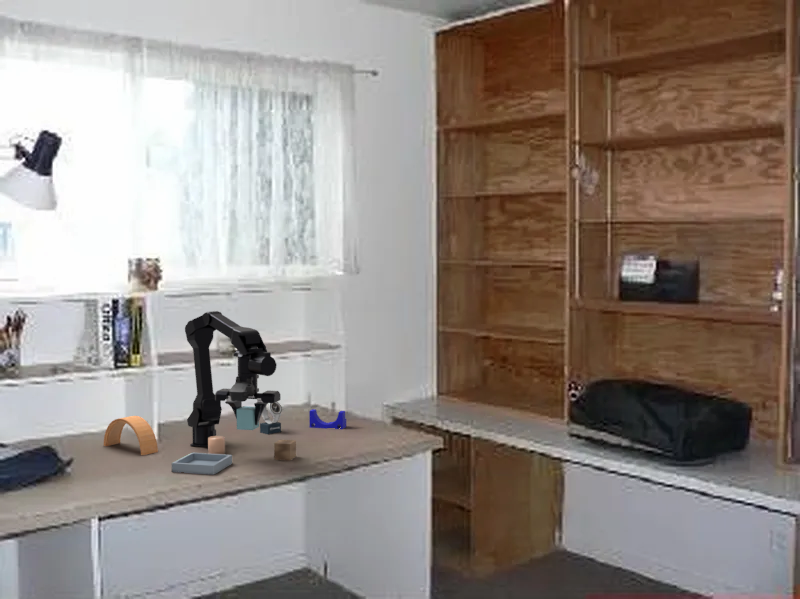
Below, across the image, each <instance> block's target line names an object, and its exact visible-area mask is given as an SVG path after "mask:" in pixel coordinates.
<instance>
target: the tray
mask: <svg viewBox="0 0 800 599" xmlns="http://www.w3.org/2000/svg"><path fill="white" fill-rule="evenodd" d="M232 464H233V454H226V453H225V454H209V453H208V452H207V453H205V452H191V453H189V454H187V455H185V456H183V457H180V458H179V459H177V460H175V461H173V462H171V472H172V473H181V472H184V474H197V475H198V474H200V475H209V476H210V475H212V476H213V475H216V474H217V473H219V472H220V471H222V470H224V469H226V468H228V467H229V466H231V465H232Z"/></svg>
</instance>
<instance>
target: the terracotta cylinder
mask: <svg viewBox="0 0 800 599" xmlns="http://www.w3.org/2000/svg"><path fill="white" fill-rule="evenodd" d="M207 449H208V450H207V451H208V452H207V453H209V454H225V455H226V437H225V436H224V435H216V436H211V437H208V447H207Z"/></svg>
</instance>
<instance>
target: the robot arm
mask: <svg viewBox="0 0 800 599" xmlns="http://www.w3.org/2000/svg"><path fill="white" fill-rule="evenodd" d="M184 326H185V327H184V332H185V336H186V341H187V343H188V344H189V345H190V346H191V348H192V351H193V363H194V374H195V384H196V386H195V387H196V396H195V399H194V400H193V403H192V412H191V413H190V414H189V416H188V418H186V421H187V426H188V427H189V428H190V427H191V428H192V432H191V433H192V435H191V436H192V442H191V443H189V446H190V447H191V446H192V447H207V448H208V437H211V436H217V429H215V428H216V426H215V425H219V424H220V421H221V417H222V411H223V409H222V404H221V403H222V402H225V404H227V405H229V406H230V408H231V409H232V411H233V413H234V417H235V419H236V420H237V409H238V408H240V407H243V404H242V403H243V402H246V401H247V400H256V402H255V403H254V407H255V425H258V422H259V423H260V419H261V417H262V412H263V410H264V408H265V406H266V404H267V405H268V403H275V402H279V401H281V393H280V391H279V390H265V391H263V392H260V388H258V379H260V376H264V377H270V376H272V375H274V373H275V372H276V370H277V366H278V365H277V362H276V360H275V358H274V357H272V353H271V352H269V351H268V350H267V346H266V344H265V343H264V340H263V338H262V336H261V334H260V332H259V330H257V329H254V328H251V327H245V326H242V325H241V326H240V325H239V324H238V323H236V322H235V321H233V320H231V319H230V318H228V317H226V315H223V314H222V312H221V311H218V310H216V311H215V310H214V311H206V312H204V313H203V314H202V315H200V316H198V317H195V318H193V319H190V320H188V322H187V323H186V324H185V325H184ZM216 330H217V331H218V332H220V333H221V334H223V335H224V336H225V337H227V338H229V339H230V344H231V345H232V346H233V347H234V348H235V349H236V351H234V353H233V357H237V376H236V377H235V383H234V384H233V385H232V386H231V387H230V388H221V389H219V390H217V391H215V393H214V386H213V376H212V375H213V374H212V366H211V365H212V364H211V355H210V354H211V353H210V346H211V344H212V342H213V339H214V332H215V331H216ZM266 407H267V406H266Z"/></svg>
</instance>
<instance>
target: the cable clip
mask: <svg viewBox="0 0 800 599" xmlns="http://www.w3.org/2000/svg"><path fill="white" fill-rule="evenodd" d="M308 418H309V419H308V420H309V428H310V429H311V428H313V429H327V428H335V429H334V430H344V429H346V428H347V418H346V411H345V410H340V411H339V412H338V415H337V418H336V420H334V421H329V422H326V421H324V420H322V419H321V418H320V416H319V415H318V412H317V409H314V408H313V409H310V410H309V417H308ZM340 427H341V428H340ZM339 428H340V429H339ZM343 428H344V429H343Z"/></svg>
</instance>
